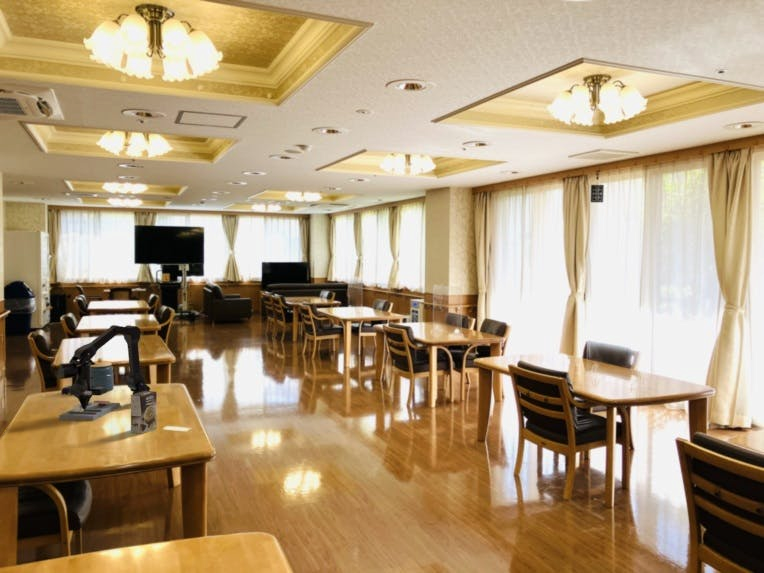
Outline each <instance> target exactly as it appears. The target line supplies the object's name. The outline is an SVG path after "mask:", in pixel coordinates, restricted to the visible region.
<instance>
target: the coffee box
mask: <svg viewBox="0 0 764 573" xmlns="http://www.w3.org/2000/svg"><path fill="white" fill-rule="evenodd" d="M157 393H158V392H157V391H154V390H153V391H152V390H150V391H143V392H139V393H136V394H133V393H132V394H131V395H130V433H135V434H141V435H142V434H145V433H148V432H150V431H153V430H155V429H157V426H158V425H157V424H158V420H157V419H158V414H157V408H158V407H157V406H158V405H157V404H158V403H157V402H158V401H157Z"/></svg>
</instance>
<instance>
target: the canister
mask: <svg viewBox="0 0 764 573" xmlns="http://www.w3.org/2000/svg"><path fill="white" fill-rule="evenodd" d="M93 362H94V363H95V365H91V376H92V379H91V385H93V387H92V388H91V389H94V388H96V387H105V388H106V389H107V392H110V391H113V390H114V388H115V384H114V383H115V382H114V366H112V365H113V363H112V362H110V361H108V360H104V359H103V358H102V357H99V358H98V359H97V360H96V361H93Z"/></svg>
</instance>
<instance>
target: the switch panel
mask: <svg viewBox="0 0 764 573" xmlns="http://www.w3.org/2000/svg"><path fill="white" fill-rule="evenodd" d="M119 408H121V403H120V402H110V403H94V401H89V403H88V405H87V407H86V409H84V411H82V412H75V411H74V408H72V409H70V410H68V411H66V412H63V413H61V414H59V415H58V416H59V417H58V420H61V419H69V420H68V421H89V422H90V421H92V422H94V421H96V420H98V419H99V418H101V417H103V416H105V415H107V414H109V413H111V412H114V411H116V410H117V409H119Z"/></svg>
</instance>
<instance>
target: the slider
mask: <svg viewBox="0 0 764 573" xmlns="http://www.w3.org/2000/svg"><path fill="white" fill-rule="evenodd" d="M73 409H74V411H75V412H82V411H84V409H83V408H82V406H81V403H76V404H74V405H73Z"/></svg>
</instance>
